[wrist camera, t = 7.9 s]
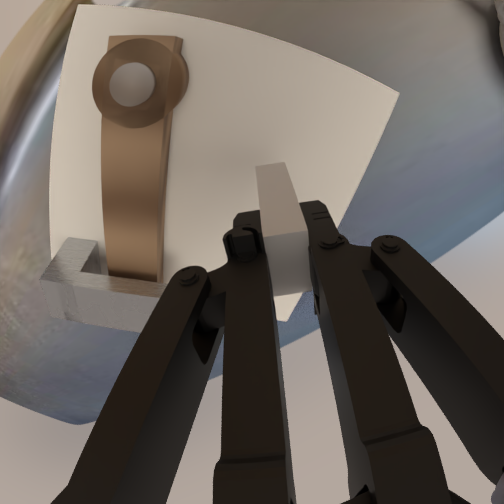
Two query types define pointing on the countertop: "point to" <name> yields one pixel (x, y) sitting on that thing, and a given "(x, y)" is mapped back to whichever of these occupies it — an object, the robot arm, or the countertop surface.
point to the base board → (216, 132)
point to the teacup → (503, 8)
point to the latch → (137, 147)
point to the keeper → (95, 290)
